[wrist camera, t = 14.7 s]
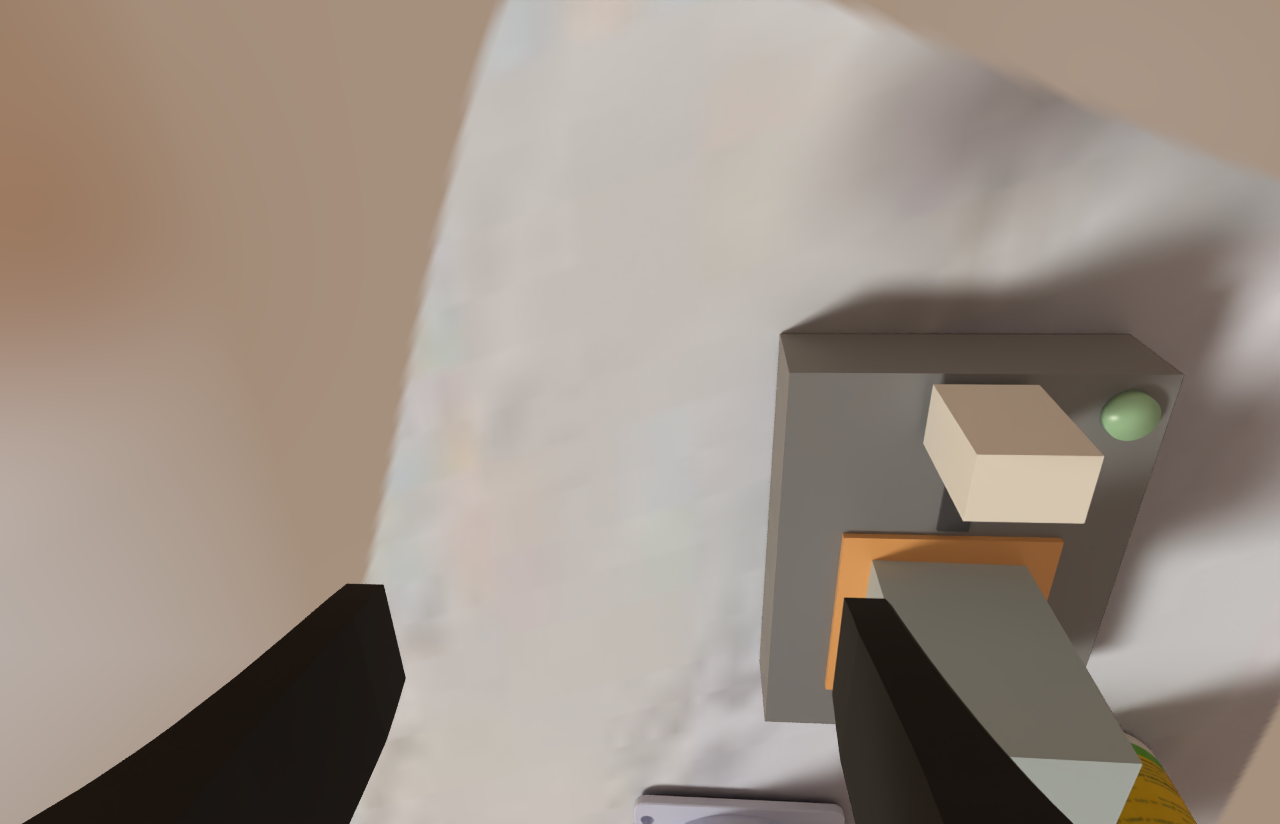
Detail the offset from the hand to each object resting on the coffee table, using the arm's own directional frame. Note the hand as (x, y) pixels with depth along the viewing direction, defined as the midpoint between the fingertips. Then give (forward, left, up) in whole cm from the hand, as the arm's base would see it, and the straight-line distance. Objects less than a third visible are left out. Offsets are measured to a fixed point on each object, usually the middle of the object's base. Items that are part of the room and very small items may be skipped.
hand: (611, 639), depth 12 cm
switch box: (-5, -8, -10) cm, 14 cm away
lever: (0, -8, -8) cm, 11 cm away
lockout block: (-6, -8, -8) cm, 13 cm away
